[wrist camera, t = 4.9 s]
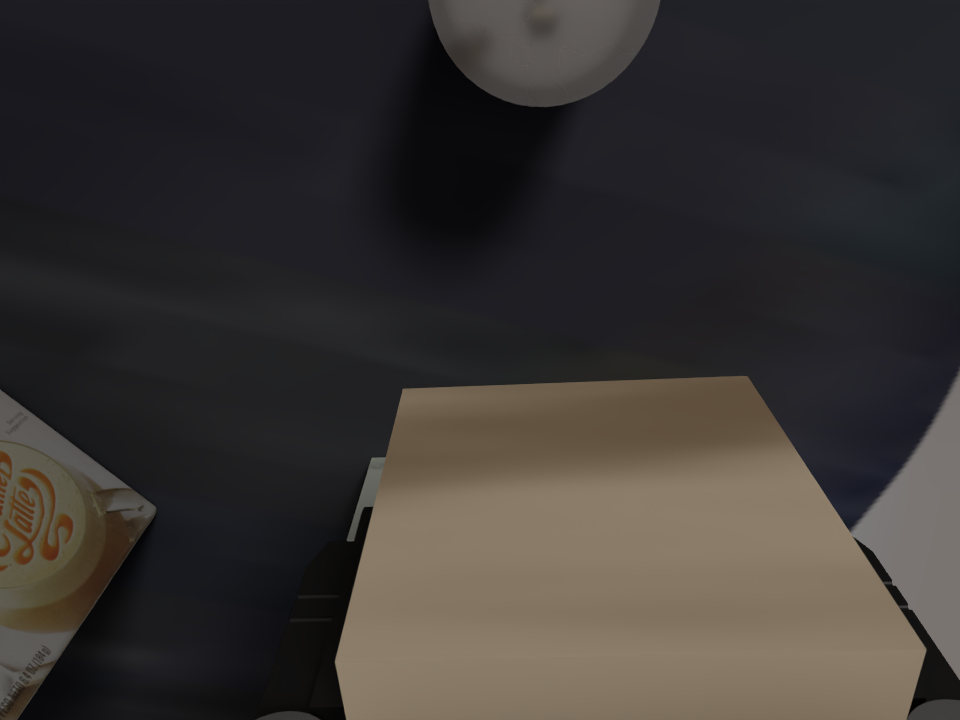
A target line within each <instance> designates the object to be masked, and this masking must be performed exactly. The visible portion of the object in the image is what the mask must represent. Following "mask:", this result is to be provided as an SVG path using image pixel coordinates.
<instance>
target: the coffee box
mask: <svg viewBox="0 0 960 720" xmlns="http://www.w3.org/2000/svg"><path fill="white" fill-rule="evenodd" d="M156 512H157V508H156V507H155V506H154V505H153V504H151V503H150V502H149V501H148V500H146V499H145V498H144V497H142V496H141V495H140V494H138V493H137V492H136V491H134V490H133V489H132V488H130V487H129V486H128V485H126V484H125V483H124V482H122V481H121V480H120V479H118V478H117V477H116V476H114V475H113V474H112V473H110V472H109V471H108V470H106V469H105V468H104V467H102V466H101V465H100V464H98V463H97V462H96V461H94V460H93V459H92V458H91V457H89V456H88V455H87V454H85V453H84V452H82V451H81V450H80V449H78V448H77V447H76V446H74V445H73V444H72V443H70V442H69V441H68V440H67V439H65V438H64V437H63V436H61V435H60V434H59V433H57V432H56V431H55V430H53V429H52V428H51V427H49V426H48V425H47V424H45V423H44V422H43V421H41V420H40V419H39V418H37V417H36V416H35V415H33V414H32V413H31V412H29V411H28V410H27V409H25V408H24V407H23V406H21V405H20V404H19V403H17V402H16V401H15V400H13V399H12V398H11V397H9V396H8V395H7V394H5V393H4V392H3V391H1V390H0V720H17V719H18V718H19V716H20V715H21V713H22V712H23V710H24V709H25V707H26V706H27V704H28V703H29V702H30V700H31V699H32V697H33V696H34V694H35V693H36V691H37V690H38V688H39V687H40V685H41V684H42V682H43V681H44V679H45V678H46V676H47V675H48V673H49V672H50V670H51V669H52V667H53V666H54V665H55V663H56V662H57V660H58V659H59V657H60V656H61V654H62V653H63V651H64V650H65V648H66V647H67V645H68V644H69V642H70V641H71V639H72V638H73V636H74V635H75V633H76V632H77V630H78V629H79V627H80V626H81V624H82V623H83V621H84V620H85V619H86V617H87V616H88V614H89V613H90V611H91V610H92V608H93V607H94V605H95V604H96V602H97V601H98V599H99V598H100V596H101V595H102V593H103V592H104V590H105V589H106V587H107V586H108V584H109V583H110V581H111V579H112V578H113V576H114V575H115V573H116V572H117V570H118V569H119V567H120V566H121V564H122V563H123V561H124V560H125V558H126V557H127V556H128V554H129V553H130V551H131V550H132V548H133V547H134V545H135V544H136V542H137V541H138V539H139V538H140V536H141V535H142V533H143V532H144V530H145V529H146V528H147V526H148V525H149V523H150V522H151V521H152V519H153V518H154V516H155V514H156Z"/></svg>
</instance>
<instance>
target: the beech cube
mask: <svg viewBox="0 0 960 720" xmlns="http://www.w3.org/2000/svg"><path fill="white" fill-rule="evenodd" d="M926 650H927V649H926V648H925V646H924V645H923V643H922V642H921V640H920V639H919V637H918V636H917V634H916V633H915V631H914V630H913V628H912V627H911V625H910V623H909V622H908V620H907V619H906V617H905V616H904V614H903V613H902V611H901V610H900V608H899V607H898V605H897V604H896V602H895V601H894V599H893V598H892V596H891V595H890V593H889V591H888V590H887V588H886V587H885V585H884V584H883V582H882V581H881V579H880V578H879V576H878V575H877V573H876V572H875V570H874V569H873V567H872V566H871V564H870V563H869V561H868V559H867V558H866V556H865V555H864V553H863V552H862V550H861V549H860V547H859V546H858V544H857V543H856V541H855V540H854V538H853V537H852V535H851V534H850V532H849V531H848V529H847V527H846V526H845V524H844V523H843V521H842V520H841V518H840V517H839V515H838V514H837V512H836V511H835V509H834V508H833V506H832V505H831V503H830V502H829V500H828V499H827V497H826V495H825V494H824V492H823V491H822V489H821V488H820V486H819V485H818V483H817V482H816V480H815V479H814V477H813V476H812V474H811V473H810V471H809V470H808V468H807V467H806V465H805V463H804V462H803V460H802V459H801V457H800V456H799V454H798V453H797V451H796V450H795V448H794V447H793V445H792V444H791V442H790V441H789V439H788V438H787V436H786V435H785V433H784V431H783V430H782V428H781V427H780V425H779V424H778V422H777V421H776V419H775V418H774V416H773V415H772V413H771V412H770V410H769V409H768V407H767V406H766V404H765V403H764V401H763V399H762V398H761V396H760V395H759V393H758V392H757V390H756V389H755V387H754V386H753V384H752V383H751V381H750V380H749V378H748V377H747V376H734V377H707V378H680V379H654V380H627V381H601V382H574V383H547V384H521V385H494V386H468V387H441V388H415V389H403V391H402V395H401V399H400V403H399V407H398V411H397V415H396V419H395V423H394V427H393V431H392V435H391V439H390V443H389V447H388V451H387V455H386V459H385V463H384V467H383V471H382V475H381V479H380V483H379V487H378V491H377V495H376V499H375V503H374V507H373V511H372V515H371V519H370V523H369V527H368V531H367V535H366V539H365V543H364V547H363V551H362V555H361V559H360V563H359V567H358V571H357V575H356V579H355V583H354V587H353V591H352V595H351V599H350V603H349V607H348V611H347V615H346V619H345V623H344V627H343V631H342V635H341V639H340V643H339V647H338V651H337V655H336V659H335V664H336V670H337V675H338V680H339V685H340V690H341V695H342V700H343V705H344V710H345V716H346V720H907V716H908V713H909V709H910V706H911V702H912V699H913V695H914V692H915V688H916V685H917V681H918V678H919V675H920V671H921V668H922V664H923V661H924V657H925V654H926Z"/></svg>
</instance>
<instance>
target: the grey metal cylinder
mask: <svg viewBox="0 0 960 720" xmlns="http://www.w3.org/2000/svg"><path fill="white" fill-rule="evenodd" d="M659 4H660V0H429V7H430V11H431V15H432V19H433V23H434V26H435V28H436V31H437V33H438V36H439V38H440V40H441V42H442V44H443V46H444V48H445V50H446V52H447V53H448V55H449V56H450V58H451V59H452V60H453V62H454V63H455V65H456V66H457V67H458V68H459V69H460V70H461V71H462V72H463V73H464V75H465V76H466V77H467V78H469V79H470V80H471V81H472V82H473V83H475V84H476V85H477V86H478V87H480V88H481V89H483V90H484V91H486V92H488V93H489V94H491V95H493V96H495V97H497V98H500V99H502V100H504V101H508V102H511V103H514V104H518V105H524V106H531V107H550V106H558V105H563V104H567V103H571V102H575V101H577V100H580V99H582V98H585V97H587V96H589V95H591V94H593V93H595V92H596V91H598V90H600V89H602V88H603V87H604V86H606V85H607V84H608V83H610V82H611V81H612V80H614V79H615V78H616V77H617V76H618V75H619V74H620V73H621V72H622V71H623V70H624V69H625V68H626V67H627V66H628V65H629V64H630V62H631V61H632V60H633V59H634V57H635V56H636V55H637V53H638V52H639V50H640V49H641V47H642V46H643V44H644V42H645V41H646V39H647V36H648V34H649V32H650V30H651V28H652V26H653V23H654V20H655V17H656V15H657V12H658V8H659Z"/></svg>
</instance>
